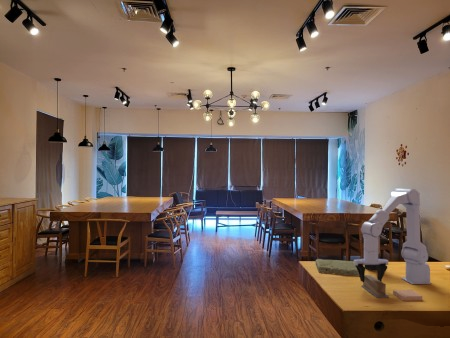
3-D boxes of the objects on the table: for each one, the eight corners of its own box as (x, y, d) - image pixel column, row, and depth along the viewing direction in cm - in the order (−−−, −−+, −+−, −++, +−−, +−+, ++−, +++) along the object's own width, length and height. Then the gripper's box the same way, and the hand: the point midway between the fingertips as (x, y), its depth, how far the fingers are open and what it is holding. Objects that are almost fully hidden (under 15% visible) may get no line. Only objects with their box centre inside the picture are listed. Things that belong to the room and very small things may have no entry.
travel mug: (367, 265, 176) (367, 229, 176) (382, 269, 170) (382, 230, 170) (361, 268, 171) (361, 230, 171) (376, 272, 165) (376, 232, 165)
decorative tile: (315, 264, 181) (315, 257, 181) (353, 266, 177) (353, 259, 177) (317, 274, 162) (317, 267, 162) (360, 277, 158) (360, 269, 158)
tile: (411, 289, 136) (422, 296, 129) (411, 294, 136) (422, 301, 129) (392, 290, 136) (402, 296, 129) (393, 294, 136) (402, 301, 129)
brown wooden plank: (370, 285, 144) (370, 275, 144) (385, 295, 132) (385, 284, 132) (363, 285, 144) (363, 275, 144) (377, 295, 132) (377, 284, 132)
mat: (372, 286, 144) (372, 285, 144) (388, 297, 131) (388, 296, 131) (361, 286, 144) (361, 285, 144) (376, 297, 131) (376, 296, 131)
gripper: (382, 247, 145) (382, 278, 145) (350, 247, 144) (350, 278, 144) (391, 251, 138) (391, 283, 138) (357, 251, 137) (357, 283, 137)
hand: (370, 281), depth 141 cm, fingers open, 7 cm apart
